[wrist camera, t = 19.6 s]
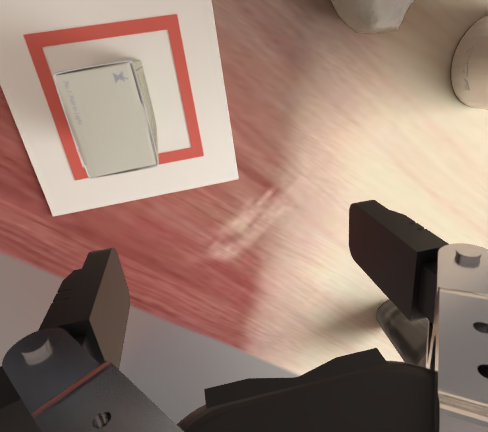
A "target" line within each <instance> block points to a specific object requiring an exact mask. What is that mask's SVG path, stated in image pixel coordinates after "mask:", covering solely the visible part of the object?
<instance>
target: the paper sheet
mask: <svg viewBox="0 0 488 432" xmlns="http://www.w3.org/2000/svg"><path fill="white" fill-rule="evenodd" d="M126 60H141V62H142V66H143V70H144V74H145V78H146V82H147V86H148V90H149V94H150V98H151V102H152V107H153V111H154V116H155V120H156V125H157V135H158V157H159V164H158V166H157V167H154V168H149V169H144V170H140V171H134V172H128V173H123V174H118V175H112V176H106V177H100V178H94V179H90V178H89V177H88V175H87V172H86V170H85V168H84V165H83V162H82V160H81V157H80V154H79V152H78V149H77V146H76V144H75V141H74V138H73V135H72V133H71V130H70V127H69V125H68V122H67V119H66V116H65V113H64V110H63V107H62V104H61V101H60V98H59V95H58V91H57V89H56V85H55V82H54V78H53V74H54V73H56V72H60V71H65V70H70V69H75V68H80V67H86V66H92V65H98V64H104V63H111V62H118V61H126ZM0 85H1V88H2V90H3V93H4V95H5V98H6V100H7V103H8V105H9V108H10V110H11V113H12V115H13V118H14V120H15V123H16V125H17V128H18V130H19V133H20V135H21V138H22V140H23V143H24V145H25V148H26V150H27V153H28V155H29V158H30V160H31V163H32V165H33V168H34V170H35V173H36V175H37V178H38V180H39V183H40V185H41V188H42V190H43V192H44V195H45V197H46V200H47V202H48V205H49V207H50V210H51V212H52V215H53V216H58V215H63V214H68V213H73V212H78V211H83V210H88V209H93V208H98V207H103V206H108V205H113V204H117V203H122V202H127V201H132V200H137V199H142V198H147V197H152V196H157V195H162V194H167V193H172V192H177V191H182V190H187V189H192V188H197V187H202V186H207V185H212V184H217V183H222V182H227V181H232V180H237V179H239V178H238V171H237V164H236V158H235V151H234V145H233V138H232V132H231V125H230V119H229V112H228V106H227V99H226V92H225V86H224V79H223V73H222V66H221V60H220V53H219V47H218V40H217V34H216V27H215V21H214V14H213V7H212V1H211V0H0Z"/></svg>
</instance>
